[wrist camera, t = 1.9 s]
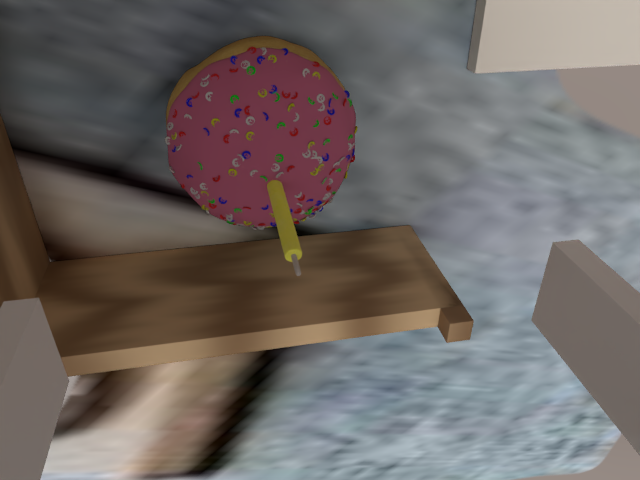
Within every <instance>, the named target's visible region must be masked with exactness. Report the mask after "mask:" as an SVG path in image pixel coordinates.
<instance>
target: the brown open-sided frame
mask: <svg viewBox="0 0 640 480" xmlns="http://www.w3.org/2000/svg"><path fill="white" fill-rule="evenodd" d="M298 240H299V243H300V247H301V250H302V257H301V258H300V259H299V260H298V263H299V266H300V270H301V275H300V276H297V275H296V273H295V270H294V266H293V262H289V261H287V260H286V259H285V256H284V253H283V249H282V245H281V241H280V238H279V239H269V240H259V241H250V242H240V243H230V244H220V245H210V246H201V247H191V248H181V249H171V250H161V251H152V252H142V253H132V254H122V255H112V256H103V257H93V258H83V259H73V260H63V261H54V262H50V260H49V257H48V254H47V252H46V249H45V246H44V243H43V240H42V237H41V234H40V231H39V228H38V225H37V222H36V219H35V216H34V213H33V210H32V207H31V204H30V201H29V198H28V195H27V192H26V189H25V186H24V183H23V180H22V177H21V174H20V171H19V168H18V165H17V162H16V159H15V156H14V153H13V150H12V147H11V144H10V141H9V138H8V135H7V132H6V129H5V126H4V123H3V120H2V117H1V114H0V308H1V306H2V304H3V302H4V301H12V300H22V299H31V298H39V299H40V302H41V305H42V307H43V310H44V313H45V316H46V318H47V321H48V324H49V327H50V330H51V332H52V335H53V338H54V341H55V343H56V346H57V349H58V352H59V354H60V357H61V360H62V363H63V365H64V368H65V371H66V374H67V377H69V376H76V375H84V374H91V373H98V372H106V371H113V370H120V369H128V368H135V367H143V366H150V365H157V364H165V363H172V362H179V361H187V360H194V359H202V358H209V357H216V356H224V355H231V354H238V353H246V352H253V351H260V350H268V349H275V348H283V347H290V346H297V345H305V344H312V343H319V342H327V341H334V340H341V339H349V338H356V337H364V336H371V335H378V334H386V333H393V332H400V331H408V330H415V329H422V328H430V327H437V326H438V328H439V330H440V331H441V333H442V335H443V337H444V338H445V340H446V342H447V343H448V342H455V341H462V340H469V339H470V336H471V331H472V326H473V319H472V318H471V316H470V315H469V313H468V312H467V310H466V309H465V307H464V306H463V304H462V303H461V301H460V300H459V298H458V297H457V295H456V294H455V292H454V291H453V289H452V288H451V286H450V285H449V283H448V282H447V280H446V279H445V277H444V276H443V274H442V273H441V271H440V270H439V268H438V267H437V265H436V264H435V262H434V261H433V259H432V258H431V256H430V255H429V253H428V251H427V250H426V248H425V247H424V245H423V244H422V242H421V241H420V239H419V238H418V236H417V235H416V233H415V232H414V230H413V229H412V227H411V226H410V225H406V226H397V227H387V228H377V229H367V230H357V231H348V232H338V233H328V234H318V235H308V236H299V237H298Z"/></svg>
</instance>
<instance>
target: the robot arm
mask: <svg viewBox="0 0 640 480" xmlns="http://www.w3.org/2000/svg"><path fill="white" fill-rule="evenodd" d="M532 322H533V323H534V324H535V325H536V327H537V328H538V329H539V330H540V332H541V333H542V334H543V335H544V337H545V338H546V339H547V340H548V342H549V343H550V344H551V345H552V346H553V348H554V349H555V350H556V351H557V353H558V354H559V355H560V356H561V358H562V359H563V360H564V361H565V363H566V364H567V365H568V366H569V368H570V369H571V370H572V371H573V373H574V374H575V375H576V376H577V378H578V379H579V380H580V381H581V383H582V384H583V385H584V386H585V388H586V389H587V390H588V391H589V393H590V394H591V395H592V396H593V398H594V399H595V400H596V401H597V403H598V404H599V405H600V406H601V408H602V409H603V410H604V411H605V413H606V414H607V415H608V416H609V418H610V419H611V420H612V421H613V423H614V424H615V425H616V426H617V428H618V429H619V430H620V431H621V433H622V434H623V435H624V436H625V438H626V439H627V440H628V441H629V443H630V444H631V445H632V446H633V448H634V449H635V450H636V451H637V453H638V454H639V455H640V293H639V292H638V291H637V290H635V289H634V288H633V287H632V286H631V285H630V284H629V283H627V282H626V281H625V280H624V279H623V278H622V277H621V276H619V275H618V274H617V273H616V272H615V271H614V270H613V269H611V268H610V267H609V266H608V265H607V264H606V263H605V262H603V261H602V260H601V259H600V258H599V257H598V256H597V255H595V254H594V253H593V252H592V251H591V250H590V249H589V248H587V247H586V246H585V245H584V244H583V243H582V242H581V241H579V240H571V241H561V242H553V244H552V247H551V251H550V255H549V258H548V262H547V265H546V269H545V273H544V276H543V280H542V284H541V287H540V291H539V294H538V298H537V302H536V305H535V309H534V313H533V316H532ZM68 383H69V379H68V377H67V374H66V371H65V368H64V365H63V363H62V360H61V357H60V354H59V352H58V349H57V346H56V343H55V341H54V338H53V335H52V332H51V330H50V327H49V324H48V321H47V318H46V316H45V313H44V310H43V307H42V305H41V302H40V299H39V298H31V299H22V300H12V301H4V302H3V304H2V306H1V308H0V480H40V478H41V475H42V472H43V468H44V465H45V461H46V458H47V455H48V451H49V448H50V444H51V441H52V438H53V434H54V431H55V427H56V424H57V420H58V417H59V414H60V410H61V407H62V403H63V400H64V397H65V393H66V390H67V386H68Z"/></svg>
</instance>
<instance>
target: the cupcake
mask: <svg viewBox="0 0 640 480" xmlns="http://www.w3.org/2000/svg"><path fill="white" fill-rule="evenodd" d="M355 122H356V115H355V111H354V108H353V105H352V102H351V100H350V98H349V92H348V91H346V90H345V88H344V86H343V85H342V83H341V82H340V81H339V79H338V78H337V76H336V75H335V74H334V73H333V71H332V70H331V69H330V68H329V67H328V66H327V65H326V64H325V63H324V62H323V61H322V60H321V59H320V58H319V57H318V56H317V55H316V54H315V53H313V52H312V51H311V50H309V49H307V48H305V47H302V46H300V45H297V44H293V43H290V42H288V41H285V40H282V39H279V38H275V37H271V36H256V37H249V38H244V39H241V40H238V41H236V42H233V43H231V44H229V45H227V46H225V47H223V48H221V49H219V50H218V51H216V52H215V53H213V54H212V55H210V56H209V57H208V58H206V59H205V60H204V61H202V62H201V63H199V64H198V65H197V66H195V67H193V68H191V69H189V70H187V71H186V72H185V73H184V74H183V75H182V77H181V78H180V80H179V81H178V83H177V84H176V86H175V88H174V90H173V91H172V94H171V96H170V99H169V101H168V105H167V111H166V128H167V137H165V143H166V144H168V160H169V170H170V171H171V172H172V174H173V175H174V177H175V178H176V180H177V181H178V182H179V183H180V185H181V187H182V188H184V189H185V190H186V191H187V192H188V194H189V195H190V196H191V197H192V198H193V199H194V200H195V201H196V202H197V203H198V204H199V205H200V206H201V207H202V209H203V210H204V211H205V213H206V214H207V215H209V213H210V214H212V215H213V216H215V217H217V218H219V219H222V220H224V221H227V223H229V224H233V225H239V226H250V227H251V228H252V229H254V230H257V228H258V229H260V230H263V229H264V228H269V227H274V226H277V229H278V233H279V237H280V241H281V245H282V249H283V253H284V256H285V259H286V260H287V261H289V262H293V266H294V270H295V273H296V275H297V276H300V275H301V270H300V266H299V263H298V260H299V259H300V258H301V257H302V250H301V247H300V243H299V240H298V237H297V233H296V230H295V226H294V223H295V224H299V220H300V221H305V220H306V218H307V216H309V218H311V219H312V218H314V217H315V216H316V213H315V211H316V210H317V211H322V209H323V205H325V204H327V203H331V202H332V200H333V198H332V197H333V196H334V195H335V193H336V192H337V190H338V189H339V187H340V185H341V183H342V181H343V179H344V178H345V179H346V178H347V170H348V168H349V165H350V163H351V162H353V161H354V160H355V155H354V151H355V133H356V131H357V126H355ZM355 128H356V129H355ZM352 158H353V160H352ZM345 176H346V177H345ZM330 199H331V201H330ZM320 207H321V208H320ZM311 214H314V216H313V217H311V216H312V215H311ZM310 215H311V216H310ZM302 219H304V220H302ZM256 227H257V228H256ZM259 227H261V228H259Z"/></svg>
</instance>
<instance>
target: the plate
mask: <svg viewBox="0 0 640 480" xmlns="http://www.w3.org/2000/svg"><path fill="white" fill-rule="evenodd" d="M622 65H640V0H477V3H476V10H475V17H474V24H473V31H472V38H471V44H470V51H469V58H468V65H467V69H468V70H470V71H472V72H473V73H475V74H476V73H494V72H513V71H531V70H549V69H568V68H584V67H585V68H586V67H602V66H622Z"/></svg>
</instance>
